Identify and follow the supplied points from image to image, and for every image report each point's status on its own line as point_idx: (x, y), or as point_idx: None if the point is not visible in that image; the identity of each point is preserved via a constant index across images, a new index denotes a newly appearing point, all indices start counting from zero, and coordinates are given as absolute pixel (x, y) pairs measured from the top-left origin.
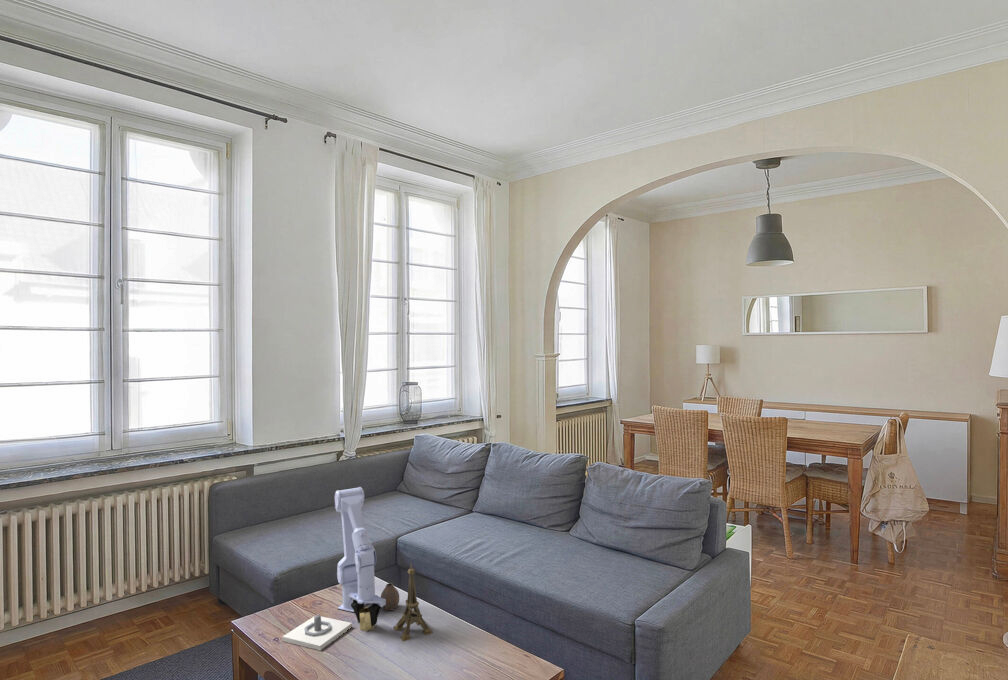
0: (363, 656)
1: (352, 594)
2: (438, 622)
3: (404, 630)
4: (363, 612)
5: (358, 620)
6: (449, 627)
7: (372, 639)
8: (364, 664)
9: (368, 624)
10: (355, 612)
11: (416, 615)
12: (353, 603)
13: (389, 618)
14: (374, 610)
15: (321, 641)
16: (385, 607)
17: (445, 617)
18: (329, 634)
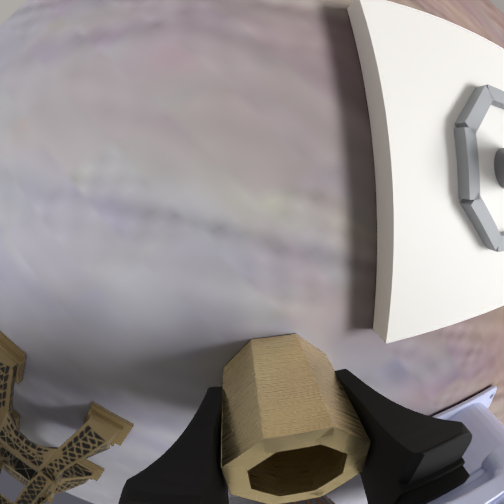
0: (37, 91)
1: (495, 500)
2: None
3: (7, 385)
4: (299, 444)
5: (347, 379)
6: None
7: (117, 275)
8: (6, 57)
9: (237, 381)
10: (393, 408)
11: (34, 474)
12: (451, 457)
13: None
14: (125, 484)
15: (397, 37)
16: (296, 501)
17: None
18: (427, 134)
